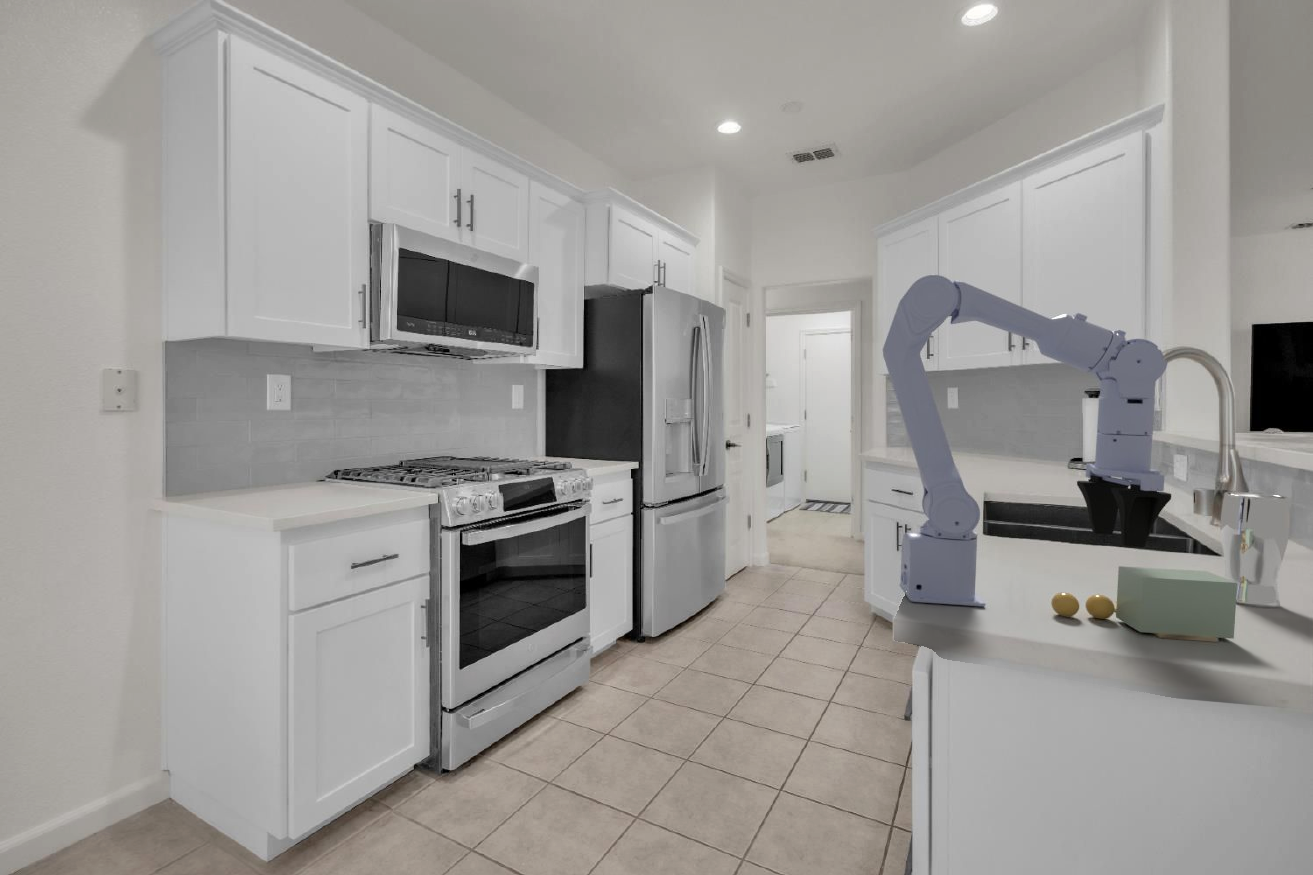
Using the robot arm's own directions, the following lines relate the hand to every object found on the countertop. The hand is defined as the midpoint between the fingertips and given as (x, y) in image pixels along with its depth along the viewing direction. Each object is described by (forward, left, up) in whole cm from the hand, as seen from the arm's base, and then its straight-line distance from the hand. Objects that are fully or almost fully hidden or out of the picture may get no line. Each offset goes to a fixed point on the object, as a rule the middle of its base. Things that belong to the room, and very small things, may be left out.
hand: (1117, 539), depth 80 cm
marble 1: (-7, -2, -10) cm, 12 cm away
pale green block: (+4, -5, -9) cm, 11 cm away
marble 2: (-3, -2, -10) cm, 10 cm away
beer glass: (+22, +11, -10) cm, 27 cm away
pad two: (+4, -5, -10) cm, 12 cm away
